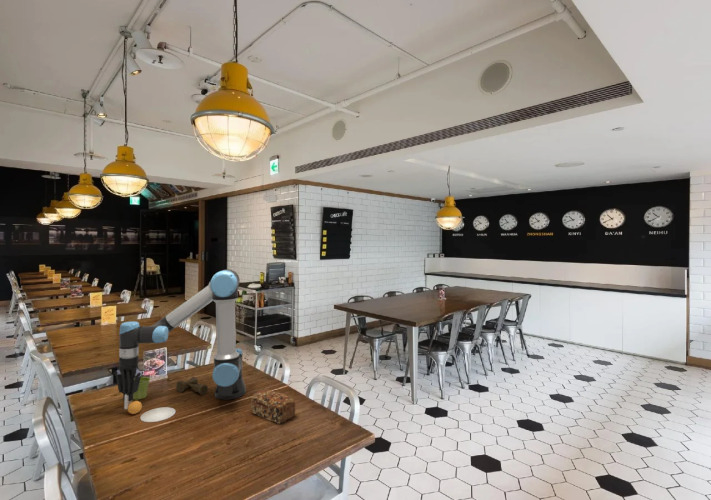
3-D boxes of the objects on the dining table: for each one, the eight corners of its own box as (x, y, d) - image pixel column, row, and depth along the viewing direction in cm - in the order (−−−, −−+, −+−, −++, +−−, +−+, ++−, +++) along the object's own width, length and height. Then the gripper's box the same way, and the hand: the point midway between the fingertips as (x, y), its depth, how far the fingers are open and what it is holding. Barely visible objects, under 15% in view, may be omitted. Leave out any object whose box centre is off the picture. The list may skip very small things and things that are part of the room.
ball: (138, 412, 169) (146, 405, 168) (130, 418, 163) (138, 411, 163) (130, 403, 169) (139, 396, 169) (122, 409, 164) (131, 401, 163)
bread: (250, 414, 167) (250, 392, 166) (267, 405, 175) (268, 385, 175) (279, 425, 156) (279, 402, 156) (296, 416, 165) (296, 394, 165)
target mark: (181, 408, 171) (181, 408, 171) (163, 423, 157) (163, 422, 157) (153, 406, 173) (153, 406, 173) (132, 421, 159) (132, 420, 159)
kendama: (196, 399, 183) (171, 389, 193) (212, 392, 192) (187, 384, 202) (196, 387, 183) (171, 378, 193) (212, 381, 192) (187, 373, 201)
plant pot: (143, 401, 178) (143, 384, 178) (124, 401, 179) (124, 383, 178) (154, 393, 188) (154, 377, 188) (136, 393, 188) (136, 376, 188)
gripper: (109, 358, 163) (108, 410, 163) (136, 359, 162) (135, 412, 162) (121, 353, 171) (121, 403, 171) (147, 354, 169) (146, 405, 170)
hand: (128, 407), depth 166 cm, fingers closed
